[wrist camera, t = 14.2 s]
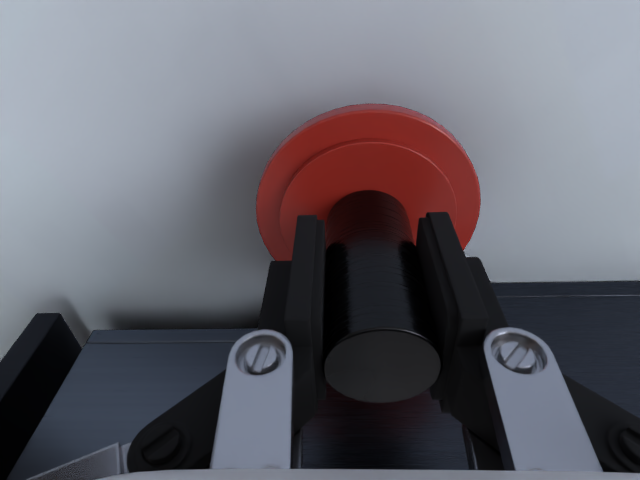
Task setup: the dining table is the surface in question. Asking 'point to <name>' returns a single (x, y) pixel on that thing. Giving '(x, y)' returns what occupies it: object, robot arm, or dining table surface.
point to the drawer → (95, 387)
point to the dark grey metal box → (444, 430)
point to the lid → (371, 236)
